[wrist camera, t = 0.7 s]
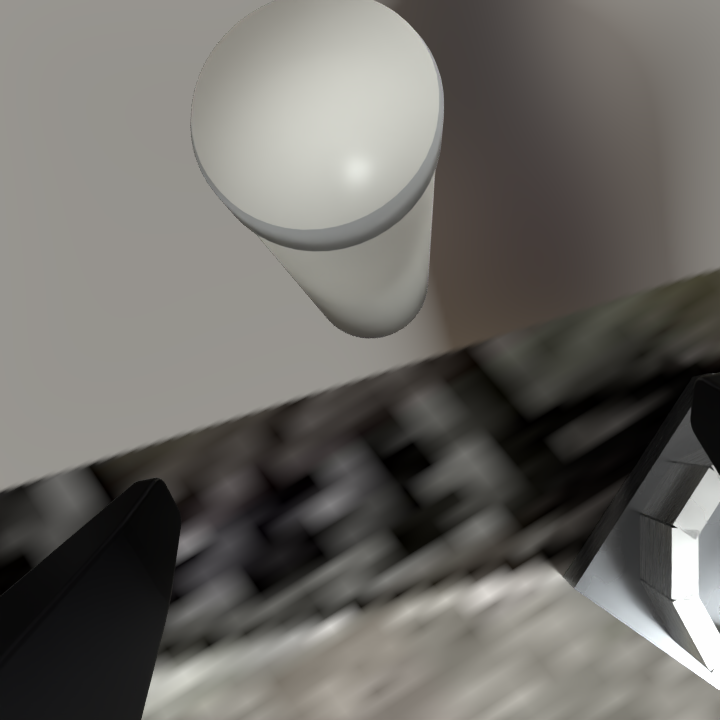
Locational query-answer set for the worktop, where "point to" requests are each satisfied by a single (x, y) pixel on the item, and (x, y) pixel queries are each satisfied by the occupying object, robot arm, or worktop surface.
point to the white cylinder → (328, 151)
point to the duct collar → (662, 548)
